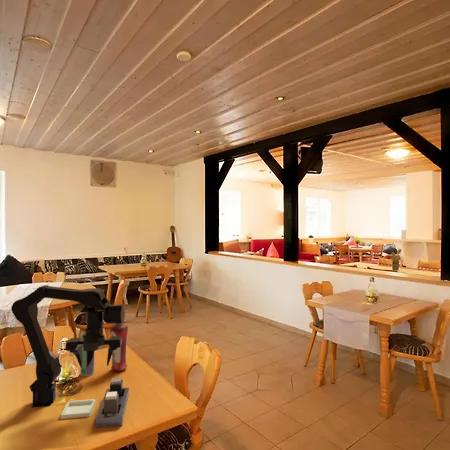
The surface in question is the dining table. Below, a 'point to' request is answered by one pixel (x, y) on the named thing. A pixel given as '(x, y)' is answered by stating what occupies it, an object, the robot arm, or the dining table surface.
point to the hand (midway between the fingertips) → (94, 366)
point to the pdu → (118, 418)
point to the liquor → (120, 353)
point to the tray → (78, 409)
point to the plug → (111, 403)
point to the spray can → (87, 360)
